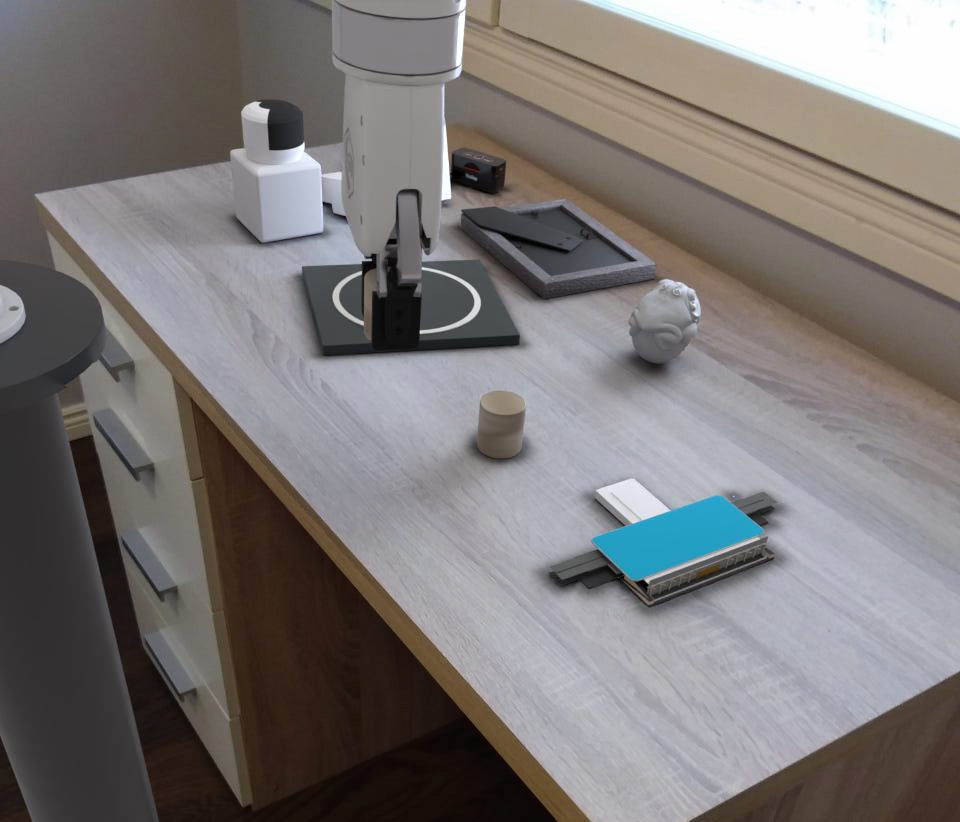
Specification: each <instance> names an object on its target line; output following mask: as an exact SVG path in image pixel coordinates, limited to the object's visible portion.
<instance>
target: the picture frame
mask: <svg viewBox="0 0 960 822" xmlns="http://www.w3.org/2000/svg"><path fill="white" fill-rule="evenodd" d="M460 211H461V213H460V229H461V230H462V231H463V232H465V233H466V234H467V235H468V236H469V237H471V238H472V239H473V240H474V241H475V242H476V243H477V244H478V245H480V246H481V247H482V248H483V249H485V251H487V252H488V253H489V254H490V255H491V256H493V258H495V259H496V260H497V261H498V262H499V263H501V264H502V265H503V266H504V267H505V268H507V270H509V271H510V272H511V273H512V274H514V275H515V276H516V277H517V278H518V279H520V281H521V282H523V283H524V284H526V286H527V287H528V288H530V289H531V290H533V291H534V292H535V293H536V295H538V296H539V297H541V298H542V299H543V300H546V299H551V298H557V297H561V296H567V295H573V294H578V293H583V292H589V291H595V290H599V289H605V288H610V287H617V286H622V285H627V284H633V283H637V282H644V281H649V280H654V279H655V276H656V271H657V265H658V264H657V263H656V262H655V261H653V260H652V259H651V258H649V257H648V256H646V255H645V254H644V253H642V252H641V251H640V250H638V249H636V248H635V247H634V246H633V245H631V244H629V242H627V241H625V240H624V239H623V238H621V237H620V236H618V235H617V234H616V233H614V232H613V231H612V230H610V229H609V228H607V227H606V226H605V225H603V224H601V223H600V222H599V221H598V220H596V219H595V218H594V217H592V216H591V215H589V214H588V213H587V212H585V211H584V210H582V209H581V208H580V207H578V206H577V205H576V204H575V203H573V202H572V201H570V200H568V199H567V198H561V199H554V200H546V201H540V202H531V203H525V204H519V205H511V206H505V207H498V206H486V207H474V208H464V209H461V210H460Z"/></svg>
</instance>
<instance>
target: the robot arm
mask: <svg viewBox="0 0 960 822" xmlns="http://www.w3.org/2000/svg"><path fill="white" fill-rule="evenodd" d="M466 7H467V0H331V41H332V42H331V47H332V48H331V60H332V61H331V62H332V64H333V67H335V68H336V69H337V70H339V71H341V72H342V73H343V74H344V75H345V78H344V90H343V117H342V118H343V119H342V151H341V152H342V153H341V155H342V156H341V172H342V179H341V197H342V204H343V208H344V211H345V214H346V216H345V218H346V220H347V223H348V226H349V230H350V232H351V235H352V238H353V241H354V243H355V246H356V248H357V249H358V251H359V252H360V253H361V254H362V255H363V258H364V260H361V264H362V300H361V311H362V315H363V317H364V277H365V274H366V273H367V272H368V271H370V270H372V269H375V268H377V291H372V327H371V343H372V346H373V348H374V349H375V350H378V351H379V350H405V349H416V348H417V347H418V346H419V339H420V320H421V300H422V293H421V287H422V262H423V253H424V254H425V255H426V256H430V255H431V254H433V253H434V252H435V250H436V249H437V248H438V243H439V237H440V228H441V227H440V226H441V218H442V217H441V215H442V201H443V200H442V182H443V152H444V125H445V124H446V119H445V83H448V82H451V81H453V80H455V79H457V78H459V77H460V75H461V73H462V71H463V57H464V56H463V55H464V40H465V27H466V12H467V11H466V10H467V8H466ZM388 267H390V270H389V272H388ZM25 318H26V315H25V309H24V305H23V302H22V300H21V298H20V297H19V296H18V295H17V294H16V293H15V292H13V291H12V290H10V289H9V288H7V287H4V286H2V285H0V344H1V343H3V342H4V341H6V340H8V339H9V338H11V337H12V336H13V335H14V334H16V333H17V332H18V331H19V330H20V328H21V327H22V325H23V324H24V322H25Z"/></svg>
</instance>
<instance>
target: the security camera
mask: <svg viewBox="0 0 960 822" xmlns="http://www.w3.org/2000/svg"><path fill="white" fill-rule="evenodd" d="M240 116H241V126H242V127H241V128H242V140H243V147H242V148H235V149H231V150H230V151H229V158H230V168H231V177H232V188H233V189H232V190H233V199H234V210H235V216H236V219H237V220H238V221H239V222H240V223H241V224H242V225H243V226H244V227H245V228H246V229H247V230H248V231H249V232H250V233H251V234H252V235H253V236H254V237H255V238H256V239H257V240H258V241H259V242H260V243H261V244H265V243H271V242H276V241H282V240H289V239H294V238H299V237H307V236H312V235H317V234H322V233H323V232H324V211H323V202H322V181H321V175H322V166H321V164H320V163H319V162H318V161H317V160H315V159H314V158H313V157H312V156H310V155H309V154H308V153H307V152H306V151H305V149H306V147H305V129H304V128H305V127H304V112H303V110H301V108H299V106H298V105H295V104H293V103H291V102H289V101H285V100H281V99H273V98H272V99H270V98H269V99H259V100H256V101H252V102H251V103H248V104H246V105H244V107H243V108H242V110H241V112H240Z"/></svg>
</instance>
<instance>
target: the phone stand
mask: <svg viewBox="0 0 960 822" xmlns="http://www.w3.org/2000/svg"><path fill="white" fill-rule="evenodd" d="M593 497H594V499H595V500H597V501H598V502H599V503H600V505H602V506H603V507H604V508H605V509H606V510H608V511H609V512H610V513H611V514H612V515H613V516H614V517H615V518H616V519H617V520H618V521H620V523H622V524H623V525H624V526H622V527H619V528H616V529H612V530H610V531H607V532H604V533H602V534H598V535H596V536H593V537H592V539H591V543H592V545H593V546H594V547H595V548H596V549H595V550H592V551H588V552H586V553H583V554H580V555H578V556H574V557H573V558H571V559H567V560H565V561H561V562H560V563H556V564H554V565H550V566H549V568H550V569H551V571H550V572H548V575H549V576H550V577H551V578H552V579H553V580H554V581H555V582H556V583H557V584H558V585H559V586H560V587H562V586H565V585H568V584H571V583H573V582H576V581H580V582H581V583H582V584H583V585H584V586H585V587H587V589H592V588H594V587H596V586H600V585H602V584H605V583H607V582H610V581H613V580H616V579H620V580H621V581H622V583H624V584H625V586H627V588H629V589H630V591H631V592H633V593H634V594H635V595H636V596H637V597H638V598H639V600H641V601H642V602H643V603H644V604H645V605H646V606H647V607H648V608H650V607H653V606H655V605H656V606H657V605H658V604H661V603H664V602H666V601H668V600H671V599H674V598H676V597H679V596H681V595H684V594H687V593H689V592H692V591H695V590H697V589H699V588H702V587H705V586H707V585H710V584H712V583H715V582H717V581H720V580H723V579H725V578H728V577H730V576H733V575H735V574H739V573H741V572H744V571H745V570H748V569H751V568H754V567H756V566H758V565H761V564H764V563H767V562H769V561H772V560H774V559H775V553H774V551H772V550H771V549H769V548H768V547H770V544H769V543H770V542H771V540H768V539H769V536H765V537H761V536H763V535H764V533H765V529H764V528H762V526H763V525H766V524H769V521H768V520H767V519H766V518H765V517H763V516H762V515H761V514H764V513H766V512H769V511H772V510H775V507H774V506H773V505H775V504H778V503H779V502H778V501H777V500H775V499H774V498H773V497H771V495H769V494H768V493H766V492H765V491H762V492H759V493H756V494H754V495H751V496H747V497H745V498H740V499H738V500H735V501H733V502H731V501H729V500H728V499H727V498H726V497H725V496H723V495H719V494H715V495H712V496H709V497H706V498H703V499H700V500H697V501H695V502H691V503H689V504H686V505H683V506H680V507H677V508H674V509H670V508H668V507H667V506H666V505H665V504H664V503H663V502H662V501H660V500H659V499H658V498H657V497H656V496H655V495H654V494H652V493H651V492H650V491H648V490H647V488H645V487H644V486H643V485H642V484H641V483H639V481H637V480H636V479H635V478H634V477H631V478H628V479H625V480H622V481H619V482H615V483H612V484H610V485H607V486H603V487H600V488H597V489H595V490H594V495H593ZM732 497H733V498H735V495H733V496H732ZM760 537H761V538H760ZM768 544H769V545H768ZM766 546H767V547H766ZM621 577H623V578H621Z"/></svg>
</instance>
